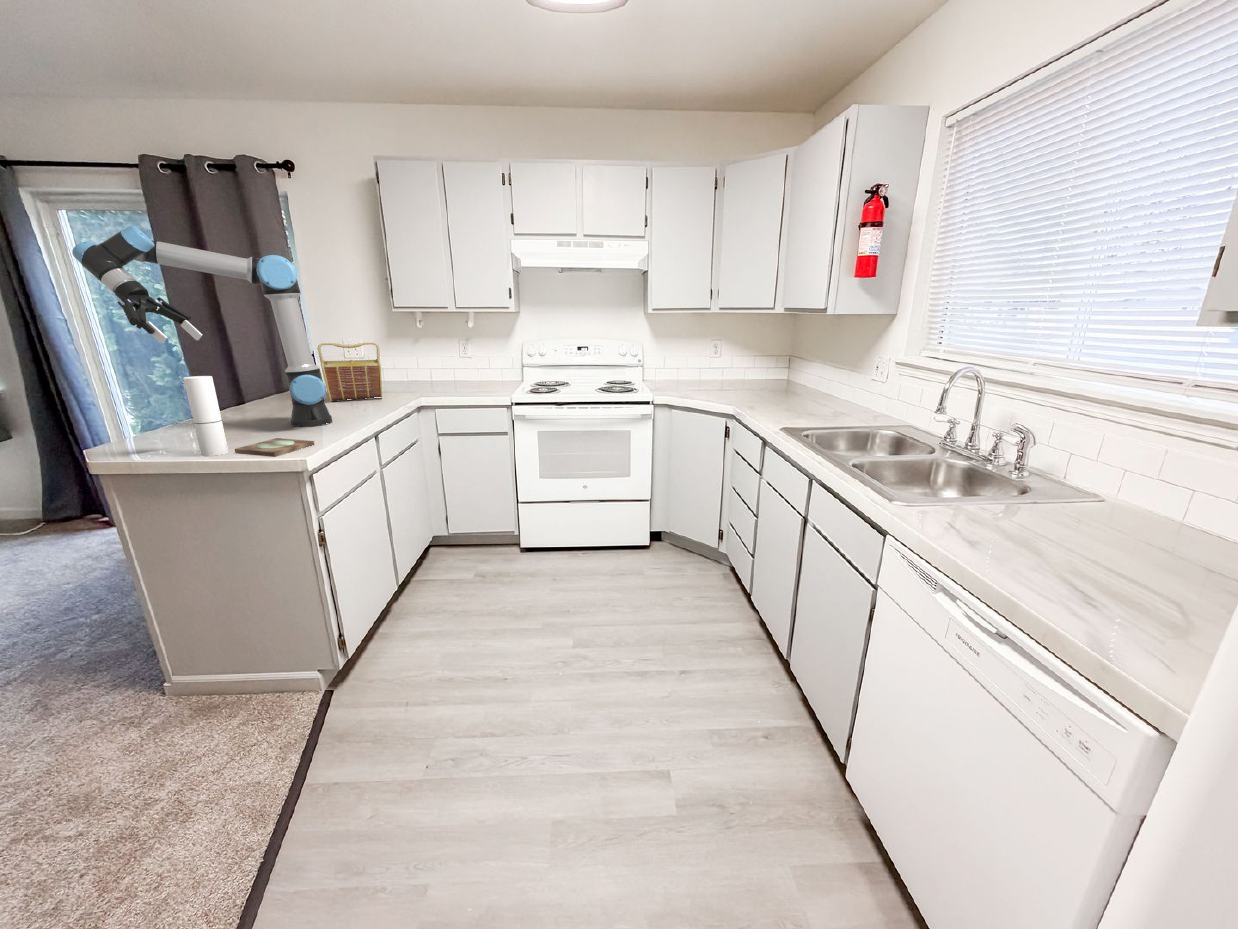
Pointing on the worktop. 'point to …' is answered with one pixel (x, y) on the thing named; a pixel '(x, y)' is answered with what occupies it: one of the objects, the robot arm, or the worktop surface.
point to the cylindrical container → (206, 415)
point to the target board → (274, 447)
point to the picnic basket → (352, 376)
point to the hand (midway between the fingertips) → (182, 339)
